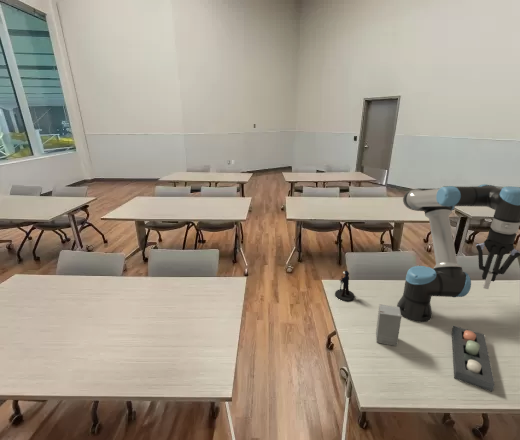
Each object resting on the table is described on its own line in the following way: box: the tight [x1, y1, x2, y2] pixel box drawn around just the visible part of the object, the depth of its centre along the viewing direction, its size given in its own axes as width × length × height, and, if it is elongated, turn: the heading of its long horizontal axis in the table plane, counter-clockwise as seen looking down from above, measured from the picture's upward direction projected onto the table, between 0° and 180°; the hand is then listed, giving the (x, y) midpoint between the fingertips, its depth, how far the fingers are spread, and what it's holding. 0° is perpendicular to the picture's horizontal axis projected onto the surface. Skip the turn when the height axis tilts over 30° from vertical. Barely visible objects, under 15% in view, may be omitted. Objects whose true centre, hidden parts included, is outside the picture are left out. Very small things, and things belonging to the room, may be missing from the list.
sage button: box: [465, 340, 480, 355], centre depth 110 cm, size 4×4×4 cm
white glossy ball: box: [466, 359, 482, 374], centre depth 104 cm, size 4×4×4 cm
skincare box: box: [375, 303, 403, 347], centre depth 119 cm, size 8×7×16 cm
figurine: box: [334, 270, 355, 302], centre depth 150 cm, size 10×10×15 cm
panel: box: [451, 325, 495, 393], centre depth 111 cm, size 11×28×4 cm, turn 149°
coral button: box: [463, 329, 476, 341], centre depth 118 cm, size 4×4×4 cm
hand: (485, 286), depth 109 cm, fingers closed
